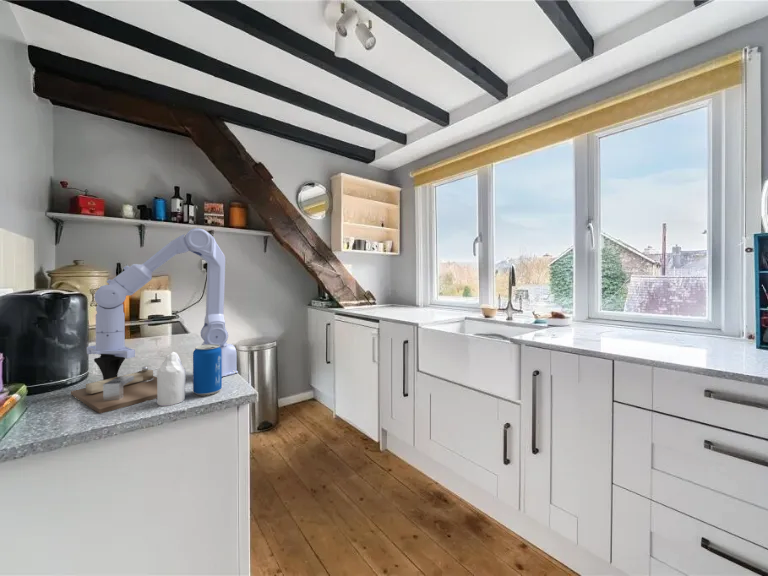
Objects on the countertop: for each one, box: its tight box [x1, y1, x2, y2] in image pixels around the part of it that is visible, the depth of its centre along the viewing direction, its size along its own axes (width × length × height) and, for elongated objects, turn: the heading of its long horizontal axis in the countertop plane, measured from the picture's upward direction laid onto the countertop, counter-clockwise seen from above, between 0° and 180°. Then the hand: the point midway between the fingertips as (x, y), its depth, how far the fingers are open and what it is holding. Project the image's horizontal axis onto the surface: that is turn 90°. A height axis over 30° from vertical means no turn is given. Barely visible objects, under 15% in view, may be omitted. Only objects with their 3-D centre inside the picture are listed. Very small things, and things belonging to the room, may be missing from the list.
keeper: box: [103, 365, 154, 401], centre depth 82 cm, size 17×4×4 cm, turn 12°
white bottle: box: [156, 351, 187, 407], centre depth 76 cm, size 6×12×6 cm
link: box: [85, 369, 154, 394], centre depth 83 cm, size 14×4×2 cm, turn 156°
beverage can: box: [192, 344, 223, 397], centre depth 82 cm, size 6×6×12 cm
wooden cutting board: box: [70, 375, 157, 414], centre depth 81 cm, size 17×20×1 cm
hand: (110, 383), depth 83 cm, fingers closed, pressing on link
